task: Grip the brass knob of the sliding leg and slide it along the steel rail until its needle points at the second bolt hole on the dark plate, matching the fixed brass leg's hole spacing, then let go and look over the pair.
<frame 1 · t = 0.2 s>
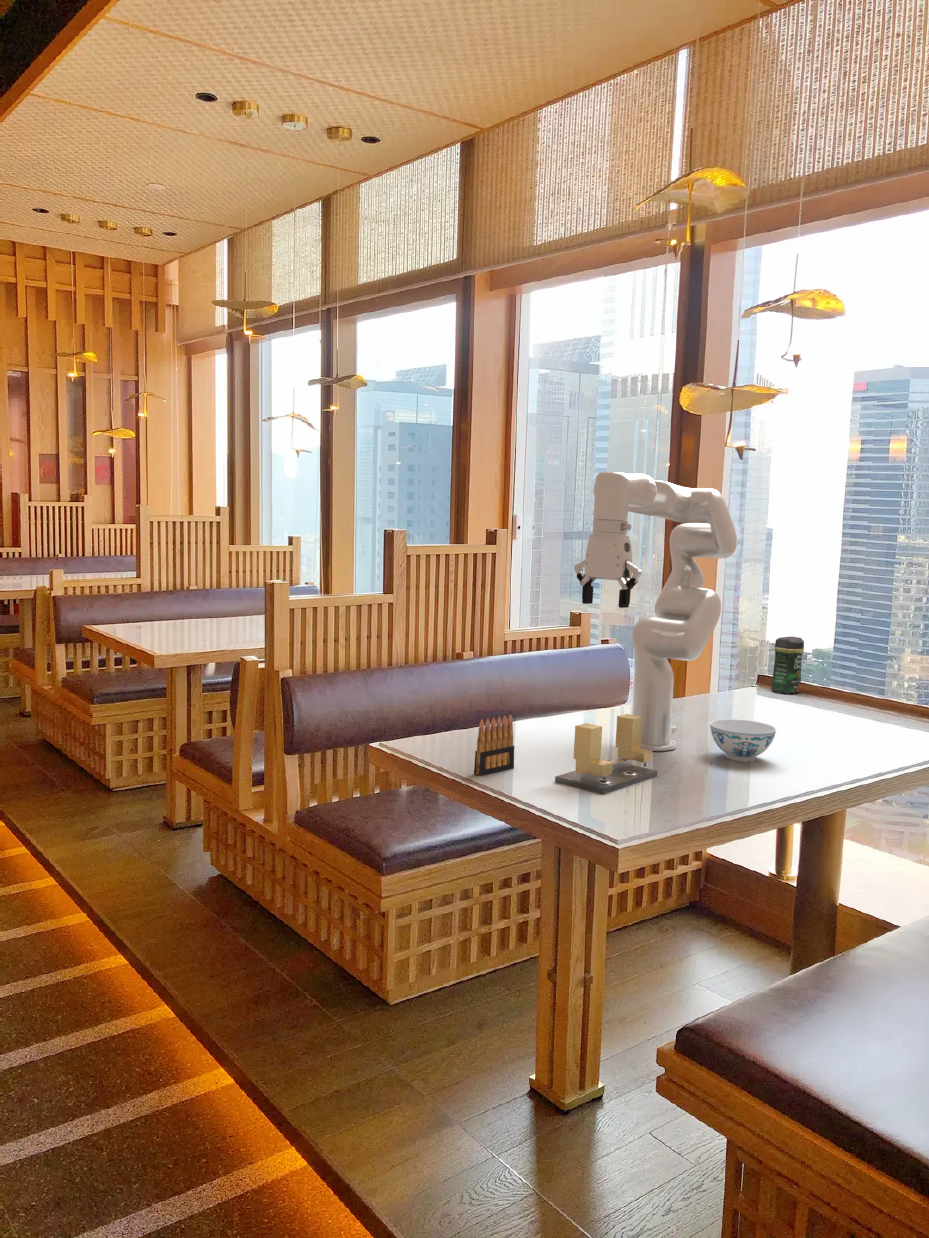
hand: (605, 605, 220), 36 cm above the table, tool pointing down, fingers open, 9 cm apart
coffee jar: (785, 692, 326), on the table
hole plate: (607, 778, 210), on the table
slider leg: (634, 740, 216), point 7 cm above the table, slide at 6.0 cm
chinaware: (740, 758, 233), on the table
ammunition clip: (494, 772, 213), on the table
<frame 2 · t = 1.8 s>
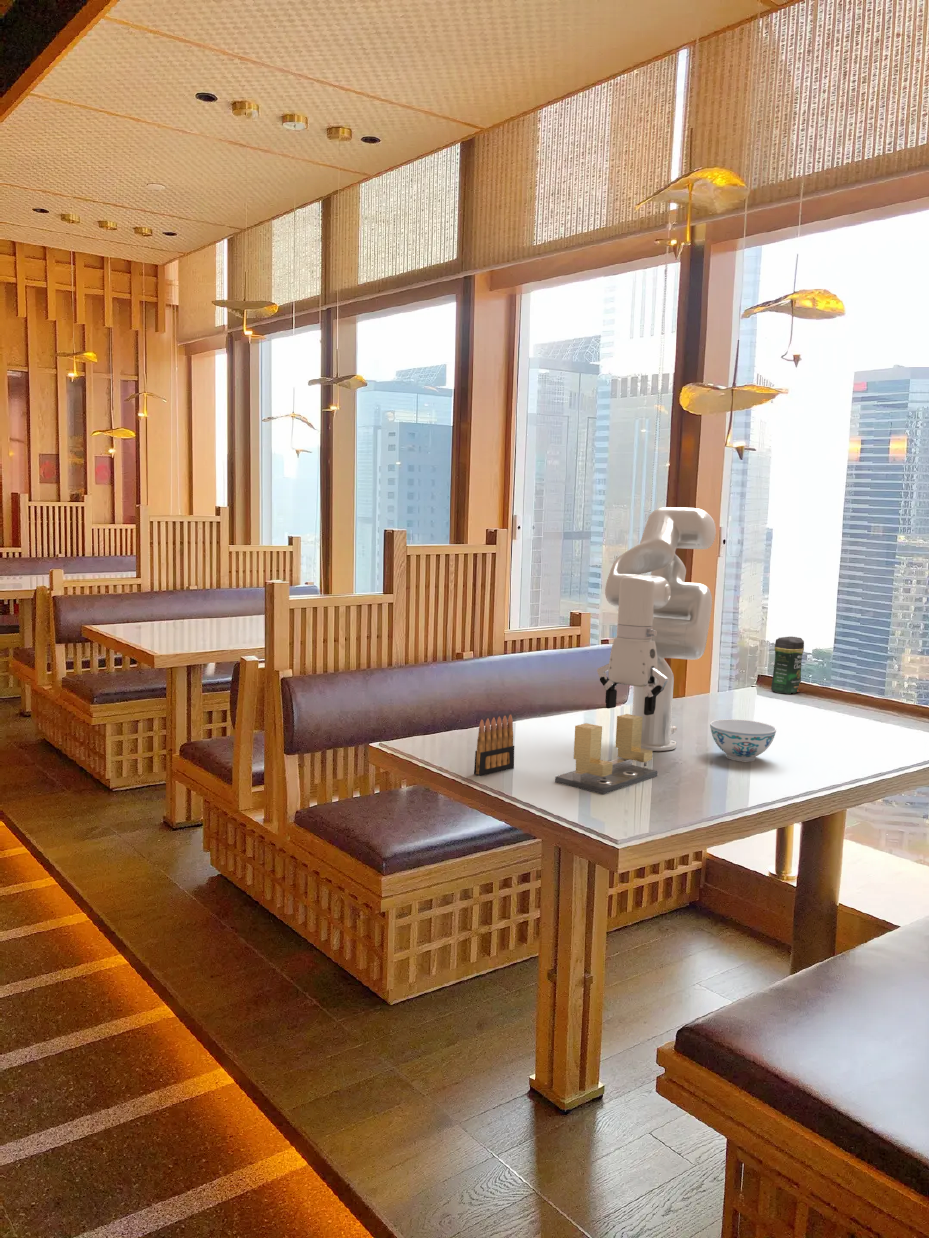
hand: (629, 711, 215), 13 cm above the table, tool pointing down, fingers open, 9 cm apart
nothing on the table moved.
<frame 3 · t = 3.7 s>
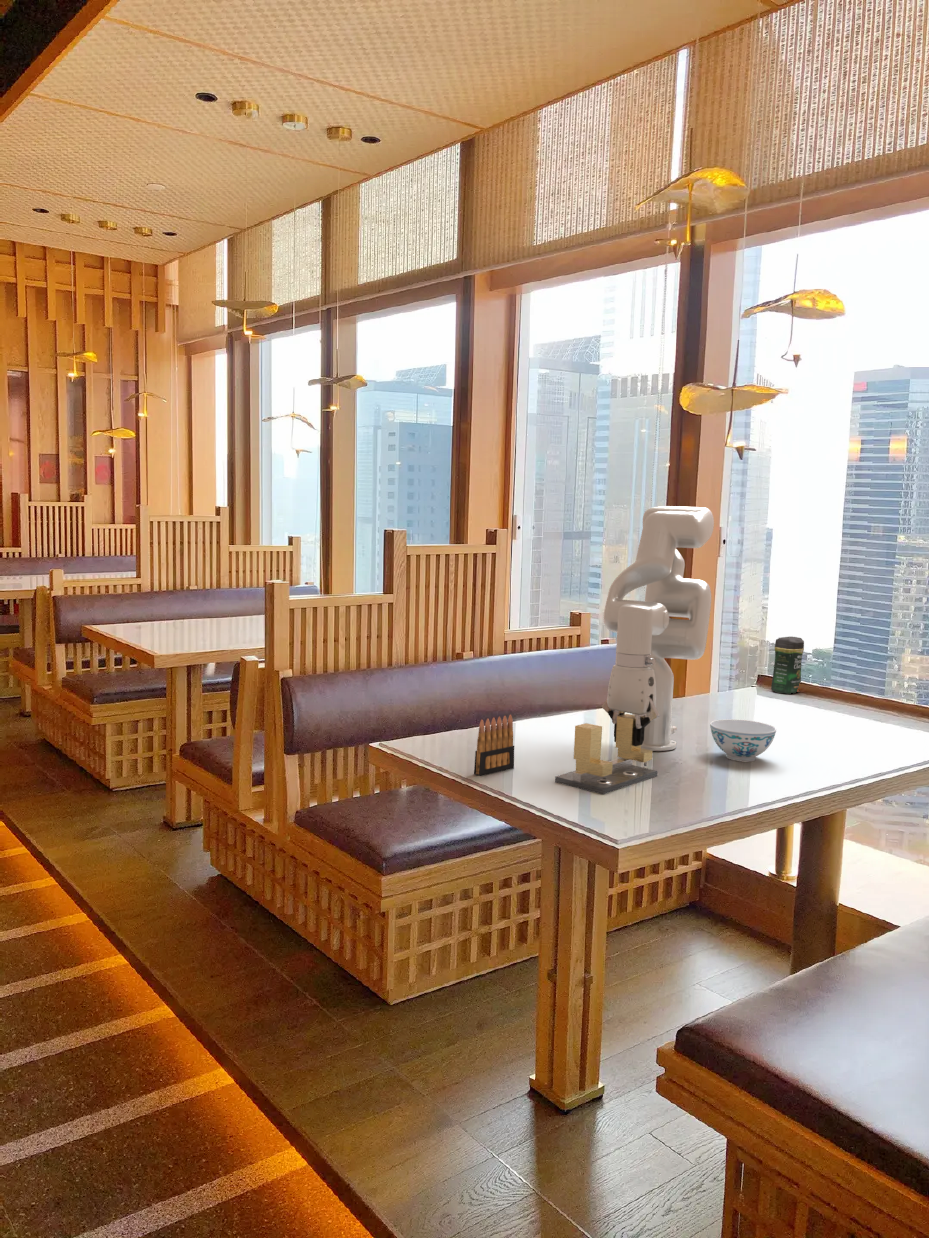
hand: (628, 742, 217), 6 cm above the table, tool pointing down, fingers closed on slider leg, 4 cm apart
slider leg: (634, 740, 216), point 7 cm above the table, slide at 6.0 cm, touching gripper
everything else where it was.
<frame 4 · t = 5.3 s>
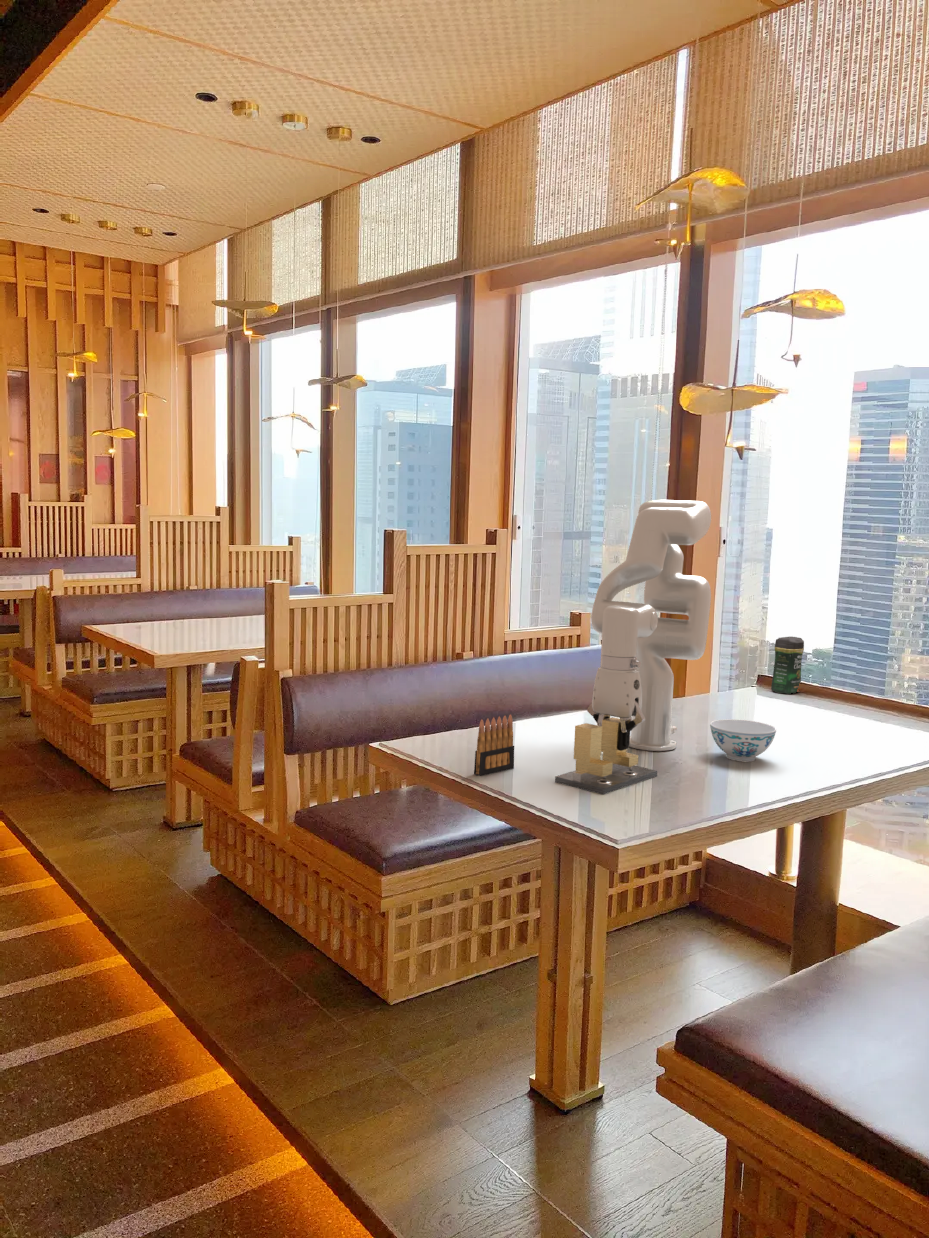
hand: (613, 746, 212), 6 cm above the table, tool pointing down, fingers closed on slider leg, 4 cm apart
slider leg: (620, 744, 211), point 7 cm above the table, slide at 0.1 cm, touching gripper
everything else where it was.
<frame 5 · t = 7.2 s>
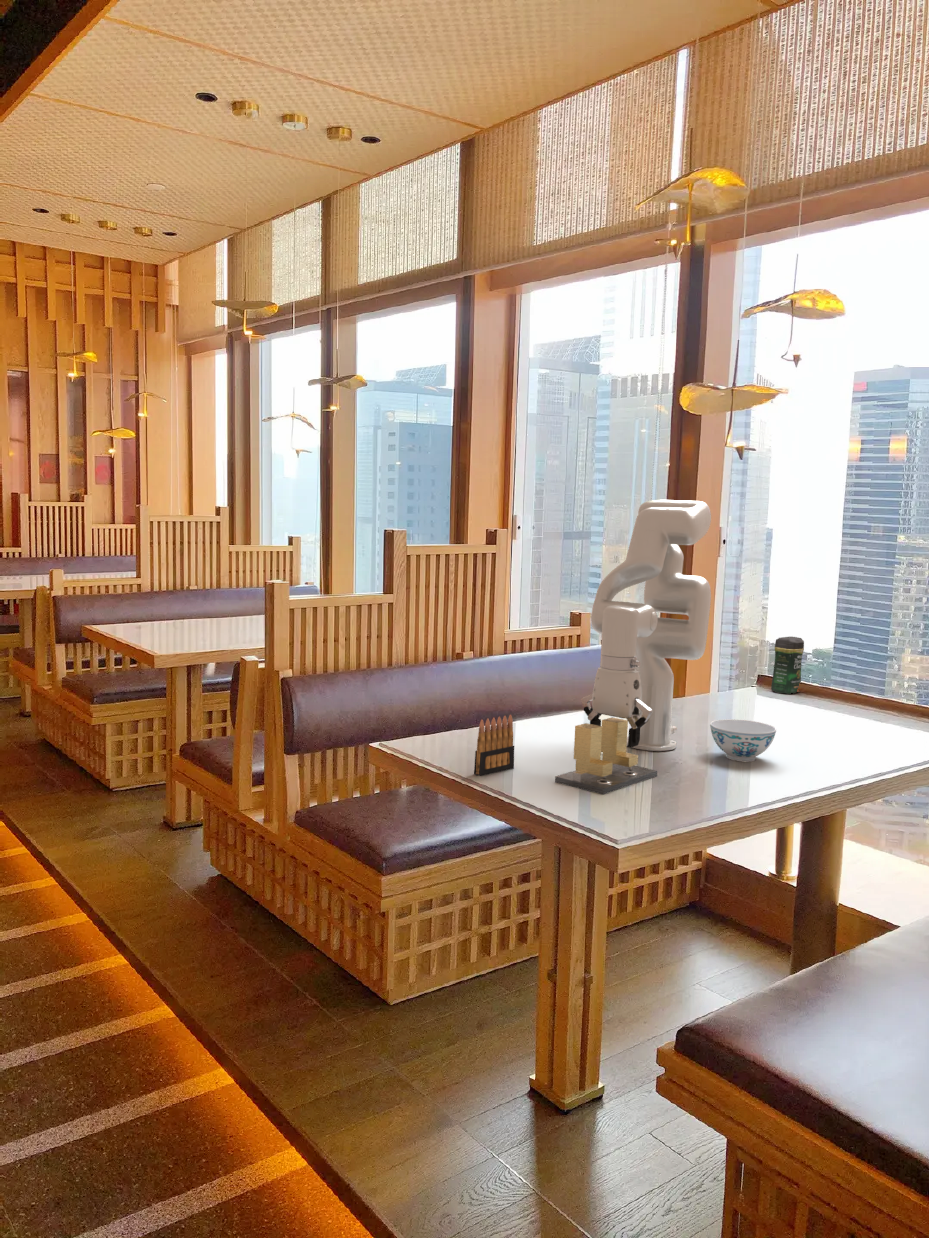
hand: (613, 741, 212), 7 cm above the table, tool pointing down, fingers open, 9 cm apart
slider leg: (619, 744, 211), point 7 cm above the table, slide at 0.0 cm
everything else where it was.
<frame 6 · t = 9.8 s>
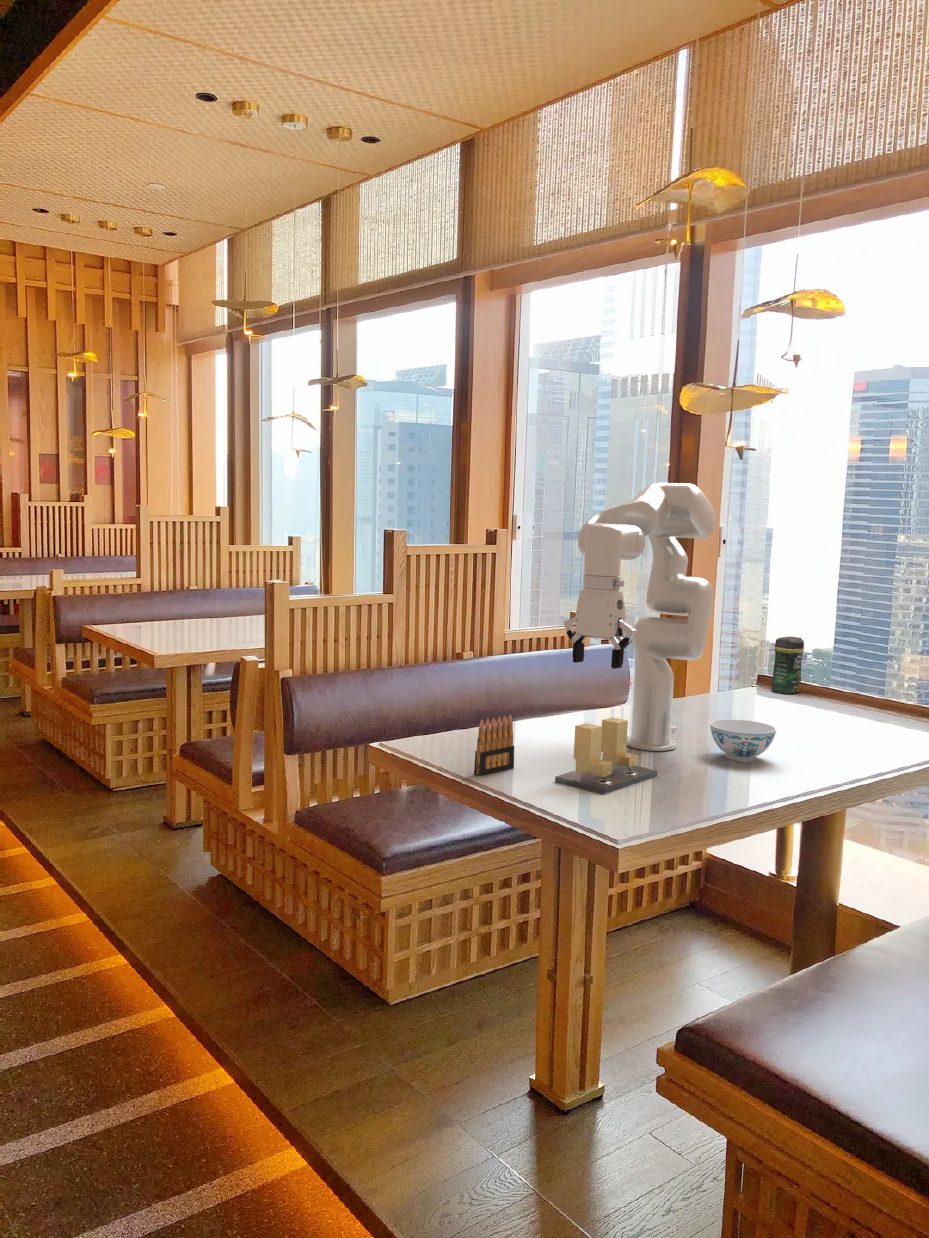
hand: (597, 664, 208), 24 cm above the table, tool pointing down, fingers open, 9 cm apart
nothing on the table moved.
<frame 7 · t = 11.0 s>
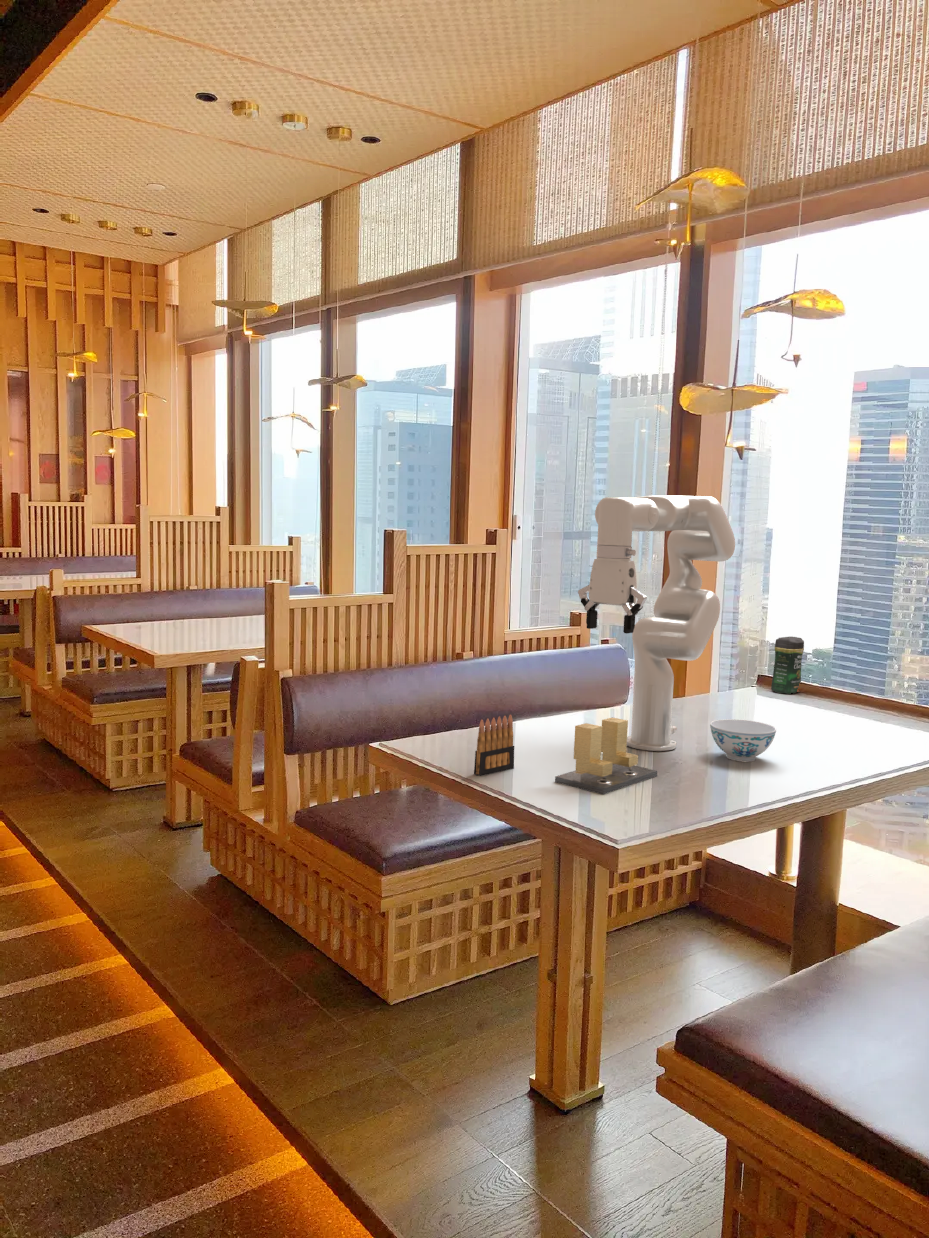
hand: (609, 630, 220), 30 cm above the table, tool pointing down, fingers open, 9 cm apart
nothing on the table moved.
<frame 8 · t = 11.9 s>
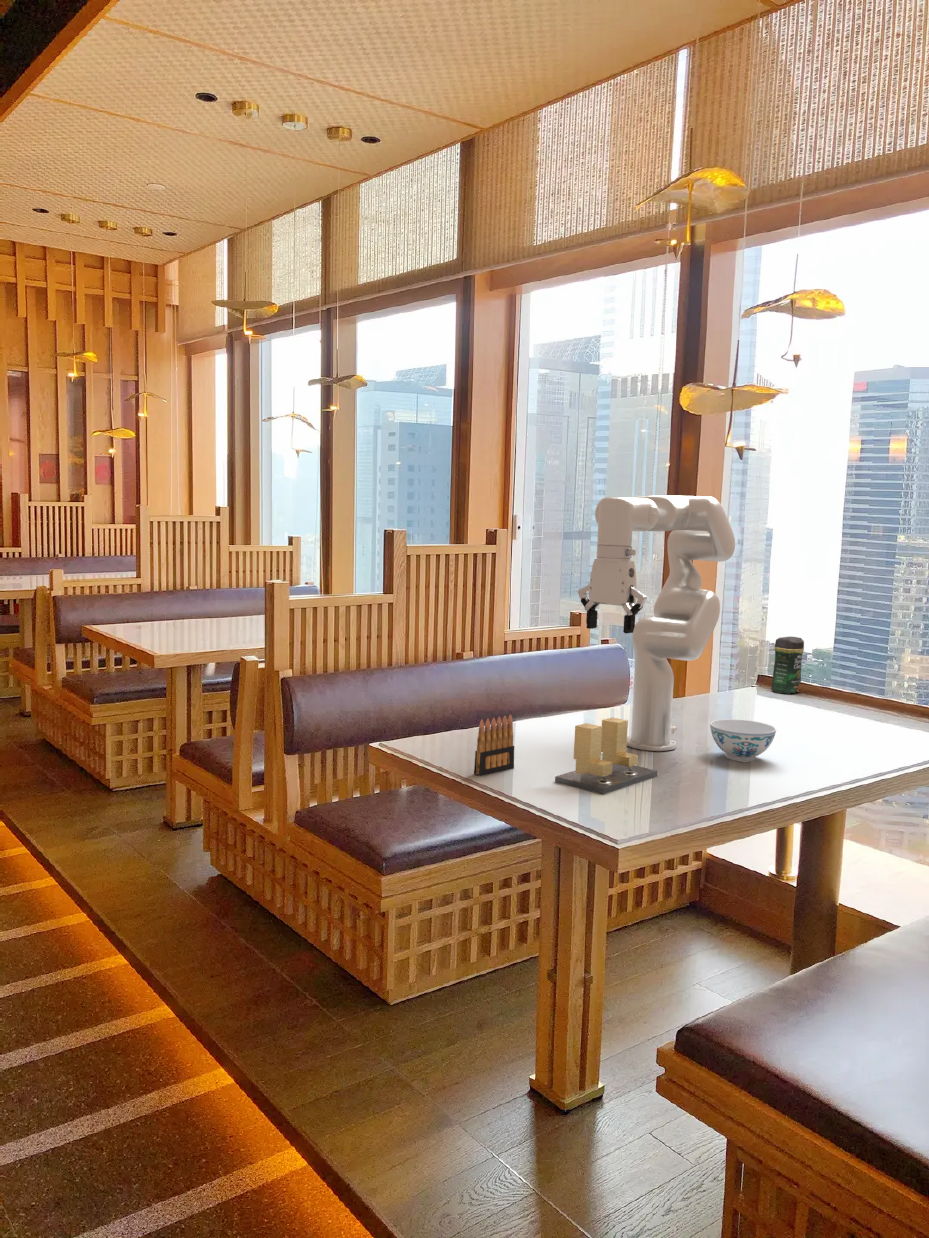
hand: (609, 630, 220), 30 cm above the table, tool pointing down, fingers open, 9 cm apart
nothing on the table moved.
at the end: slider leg slide at 0.0 cm; the gripper is holding nothing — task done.
